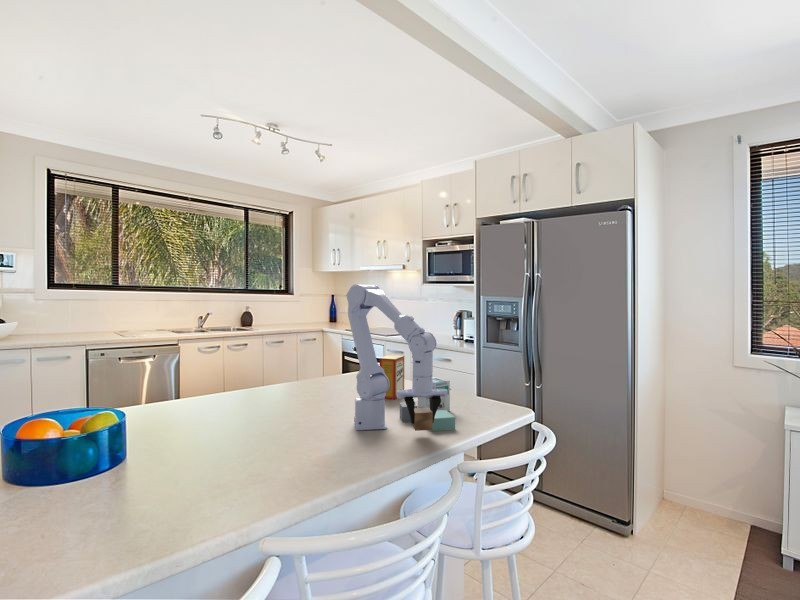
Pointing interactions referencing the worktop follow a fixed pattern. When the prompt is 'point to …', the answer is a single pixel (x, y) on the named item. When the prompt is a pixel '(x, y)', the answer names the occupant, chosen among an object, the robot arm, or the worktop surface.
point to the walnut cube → (423, 419)
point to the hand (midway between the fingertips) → (422, 422)
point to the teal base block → (443, 420)
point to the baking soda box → (393, 374)
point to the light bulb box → (445, 401)
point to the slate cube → (405, 412)
